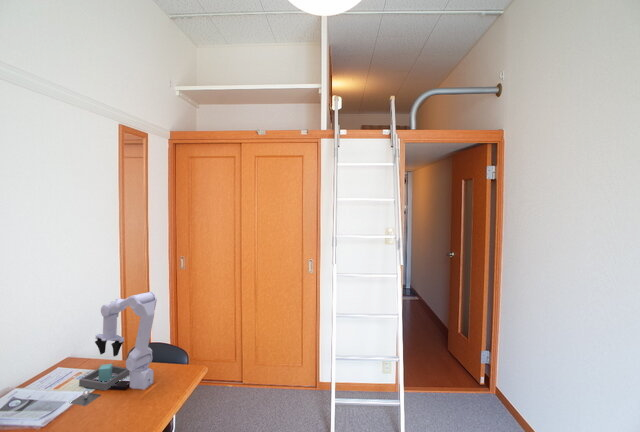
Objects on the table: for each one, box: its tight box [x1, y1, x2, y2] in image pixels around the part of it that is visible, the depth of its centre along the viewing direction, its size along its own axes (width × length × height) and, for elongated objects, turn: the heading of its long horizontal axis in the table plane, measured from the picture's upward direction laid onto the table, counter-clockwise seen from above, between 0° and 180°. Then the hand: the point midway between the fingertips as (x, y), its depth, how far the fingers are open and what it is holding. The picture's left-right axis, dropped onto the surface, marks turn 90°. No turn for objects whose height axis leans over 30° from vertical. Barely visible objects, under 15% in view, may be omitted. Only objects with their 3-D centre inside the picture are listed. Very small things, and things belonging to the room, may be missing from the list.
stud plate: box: [70, 390, 102, 407], centre depth 135 cm, size 8×8×4 cm
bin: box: [78, 365, 130, 391], centre depth 149 cm, size 14×14×4 cm
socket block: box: [97, 363, 113, 381], centre depth 149 cm, size 4×4×7 cm
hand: (109, 354), depth 157 cm, fingers open, 7 cm apart
